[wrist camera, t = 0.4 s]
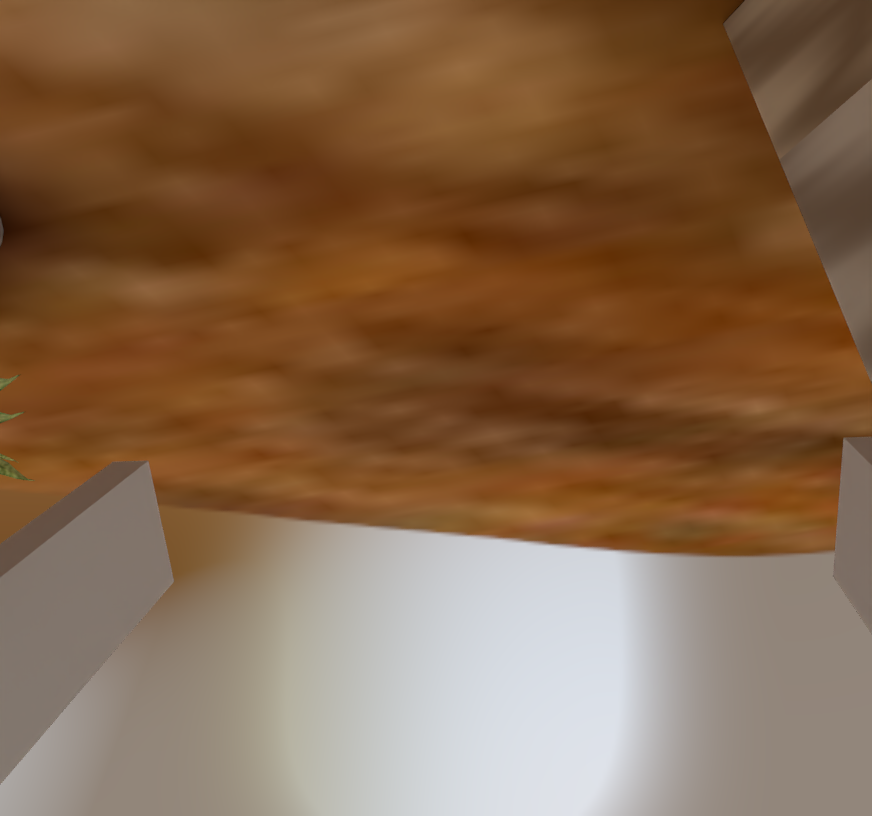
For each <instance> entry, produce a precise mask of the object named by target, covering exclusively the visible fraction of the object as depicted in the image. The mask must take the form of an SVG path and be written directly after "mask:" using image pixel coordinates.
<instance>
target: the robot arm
mask: <svg viewBox="0 0 872 816" xmlns="http://www.w3.org/2000/svg"><path fill="white" fill-rule="evenodd" d="M833 577H834V578H835V580H836V581H837V582H838V584H839V586H840V587H841V589H842V590H843V592H844V593H845V595H846V596H847V598H848V599H849V601H850V602H851V604H852V605H853V607H854V608H855V610H856V611H857V613H858V614H859V616H860V617H861V619H862V620H863V622H864V623H865V625H866V626H867V628H868V629H869V631H870V632H871V634H872V437H851V438H844V441H843V454H842V467H841V480H840V493H839V507H838V520H837V533H836V546H835V560H834V574H833ZM173 582H174V580H173V575H172V570H171V565H170V561H169V556H168V551H167V547H166V542H165V537H164V533H163V528H162V523H161V519H160V514H159V509H158V504H157V500H156V495H155V490H154V485H153V481H152V476H151V471H150V467H149V462H148V461H125V462H112V463H111V464H109V465H108V466H107V467H105V468H104V469H103V470H101V471H100V472H98V473H97V474H96V475H94V476H93V477H92V478H90V479H89V480H87V481H86V482H85V483H83V484H82V485H81V486H79V487H78V488H76V489H75V490H74V491H72V492H71V493H70V494H68V495H67V496H65V497H64V498H63V499H61V500H60V501H59V502H57V503H56V504H54V505H53V506H52V507H50V508H49V509H48V510H46V511H45V512H44V513H42V514H41V515H39V516H38V517H37V518H35V519H34V520H33V521H31V522H30V523H29V524H27V525H26V526H24V527H23V528H22V529H20V530H19V531H18V532H16V533H15V534H13V535H12V536H11V537H9V538H8V539H6V540H5V541H4V542H2V543H1V544H0V784H1V783H2V782H3V781H4V779H5V778H6V777H7V776H8V775H9V774H10V772H11V771H12V770H13V769H14V768H15V766H16V765H17V764H18V763H19V762H20V761H21V760H22V758H23V757H24V756H25V755H26V754H27V753H28V751H29V750H30V749H31V748H32V747H33V746H34V744H35V743H36V742H37V741H38V740H39V739H40V737H41V736H42V735H43V734H44V733H45V731H46V730H47V729H48V728H49V727H50V726H51V725H52V723H53V722H54V721H55V720H56V719H57V718H58V716H59V715H60V714H61V713H62V712H63V710H64V709H65V708H66V707H67V706H68V705H69V704H70V702H71V701H72V700H73V699H74V698H75V696H76V695H77V694H78V693H79V692H80V691H81V690H82V688H83V687H84V686H85V685H86V684H87V683H88V681H89V680H90V679H91V678H92V676H93V675H94V674H95V673H96V672H97V671H98V670H99V668H100V667H101V666H102V665H103V664H104V663H105V661H106V660H107V659H108V658H109V657H110V656H111V654H112V653H113V652H114V651H115V650H116V649H117V647H118V646H119V645H120V644H121V643H122V642H123V640H124V639H125V638H126V637H127V636H128V635H129V633H130V632H131V631H132V630H133V629H134V628H135V626H136V625H137V624H138V623H139V622H140V620H141V619H142V618H143V617H144V616H145V615H146V613H147V612H148V611H149V610H150V609H151V608H152V607H153V605H154V604H155V603H156V602H157V601H158V600H159V598H160V597H161V596H162V595H163V594H164V592H165V591H166V590H167V589H168V588H169V587H170V586H171V584H172V583H173Z"/></svg>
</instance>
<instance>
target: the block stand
mask: <svg viewBox="0 0 872 816" xmlns="http://www.w3.org/2000/svg"><path fill="white" fill-rule="evenodd" d="M723 25H724V27H725V30H726V32H727V34H728V37H729V39H730V42H731V44H732V47H733V49H734V51H735V54H736V56H737V59H738V61H739V63H740V66H741V68H742V71H743V73H744V76H745V78H746V80H747V83H748V85H749V88H750V90H751V92H752V95H753V97H754V100H755V102H756V105H757V107H758V109H759V112H760V114H761V117H762V119H763V122H764V124H765V126H766V129H767V131H768V134H769V136H770V138H771V141H772V143H773V146H774V148H775V151H776V153H777V155H778V158H779V160H780V163H781V165H782V167H783V170H784V172H785V175H786V177H787V180H788V182H789V184H790V187H791V189H792V192H793V194H794V196H795V199H796V201H797V204H798V206H799V209H800V211H801V213H802V216H803V218H804V221H805V223H806V226H807V228H808V230H809V233H810V235H811V238H812V240H813V242H814V245H815V247H816V250H817V252H818V255H819V257H820V259H821V262H822V264H823V267H824V269H825V271H826V274H827V276H828V279H829V281H830V284H831V286H832V288H833V291H834V293H835V296H836V298H837V300H838V303H839V305H840V308H841V310H842V313H843V315H844V317H845V320H846V322H847V325H848V327H849V329H850V332H851V334H852V337H853V339H854V342H855V344H856V346H857V349H858V351H859V354H860V356H861V359H862V361H863V363H864V366H865V368H866V371H867V373H868V375H869V378H870V380H871V383H872V0H745V1H744V2H743V3H742V4H741V5H740V6H739V7H738V8H737V9H736V10H735V12H734V13H733V14H732V15H731V16H730V17H729V18H728V19H727V20H726V21H725V22H724V23H723Z"/></svg>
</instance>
